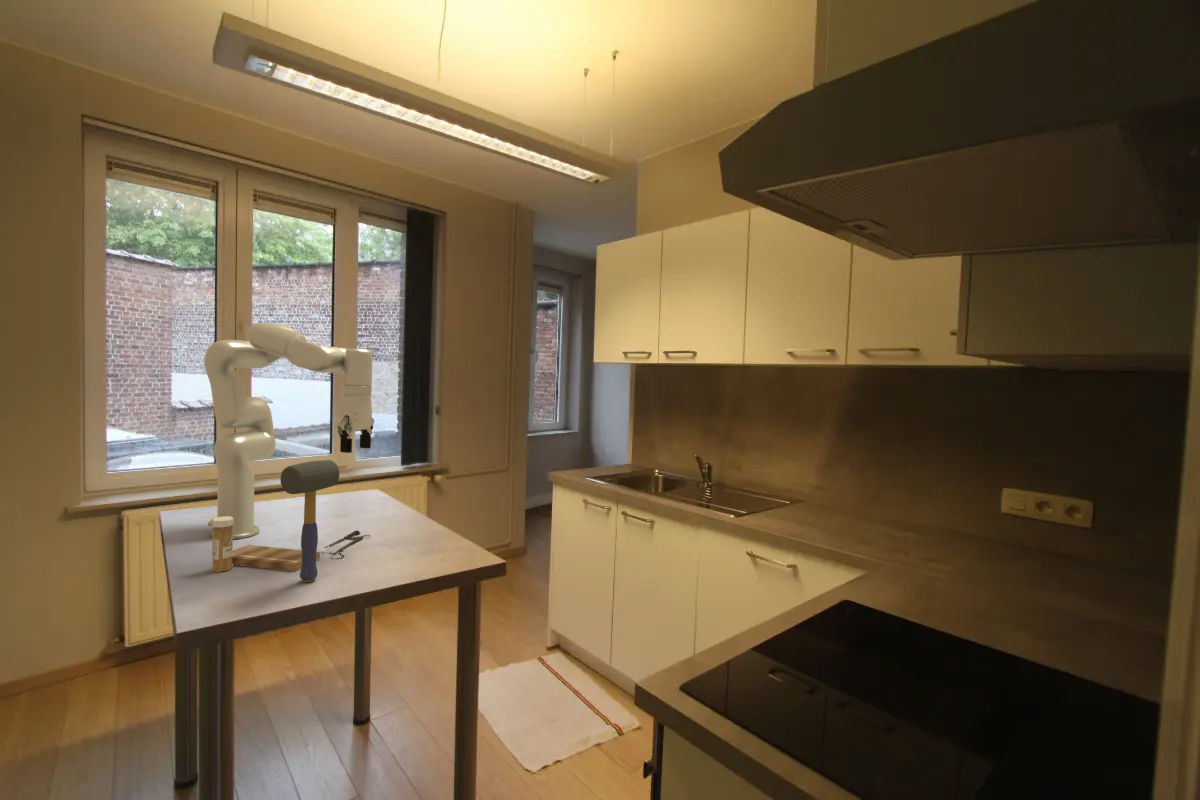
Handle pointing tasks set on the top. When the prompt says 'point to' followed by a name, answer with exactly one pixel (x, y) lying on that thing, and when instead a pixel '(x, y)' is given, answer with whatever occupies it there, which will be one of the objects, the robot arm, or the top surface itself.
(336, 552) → the hacksaw
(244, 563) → the board
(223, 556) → the sprinkles bottle
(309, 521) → the rubber mallet
